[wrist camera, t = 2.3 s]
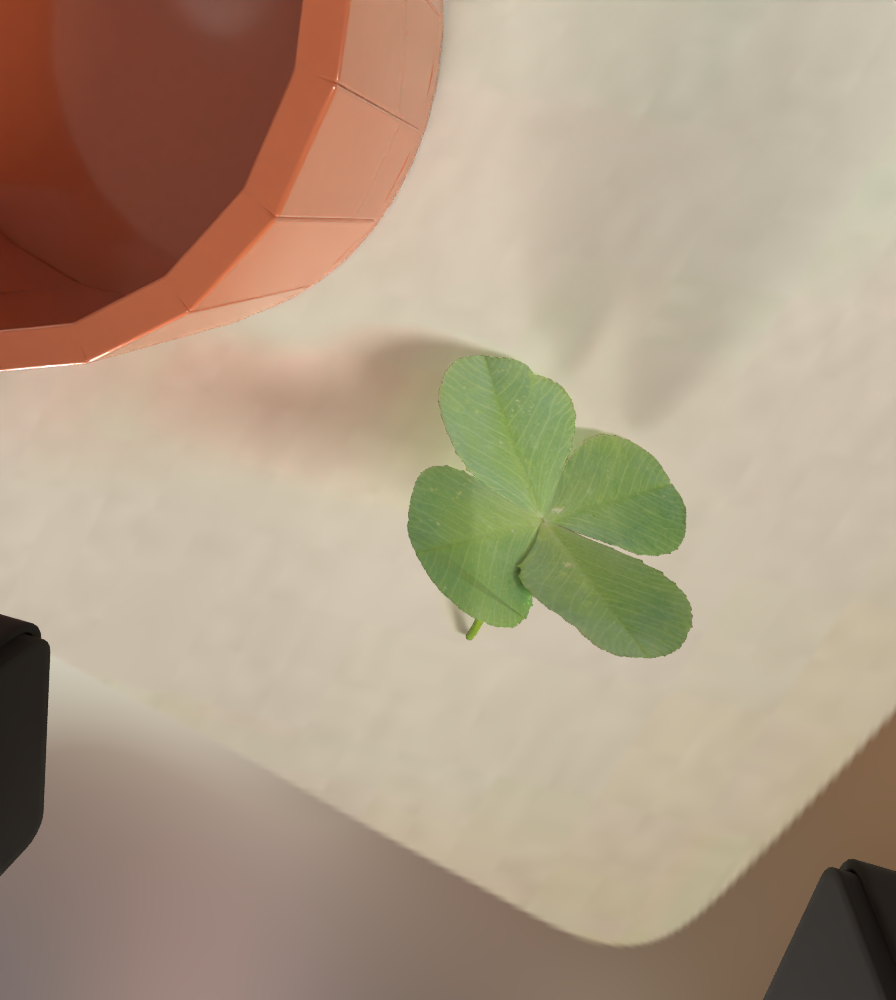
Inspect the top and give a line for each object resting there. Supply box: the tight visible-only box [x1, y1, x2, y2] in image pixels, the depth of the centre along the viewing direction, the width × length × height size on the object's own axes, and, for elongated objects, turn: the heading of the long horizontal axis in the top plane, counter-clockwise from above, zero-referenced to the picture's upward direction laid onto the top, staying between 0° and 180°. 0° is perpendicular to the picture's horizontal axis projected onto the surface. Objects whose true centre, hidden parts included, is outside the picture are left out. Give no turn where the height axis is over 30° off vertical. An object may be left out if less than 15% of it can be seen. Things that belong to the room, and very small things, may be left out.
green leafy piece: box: [407, 355, 693, 658], centre depth 20 cm, size 7×8×6 cm
